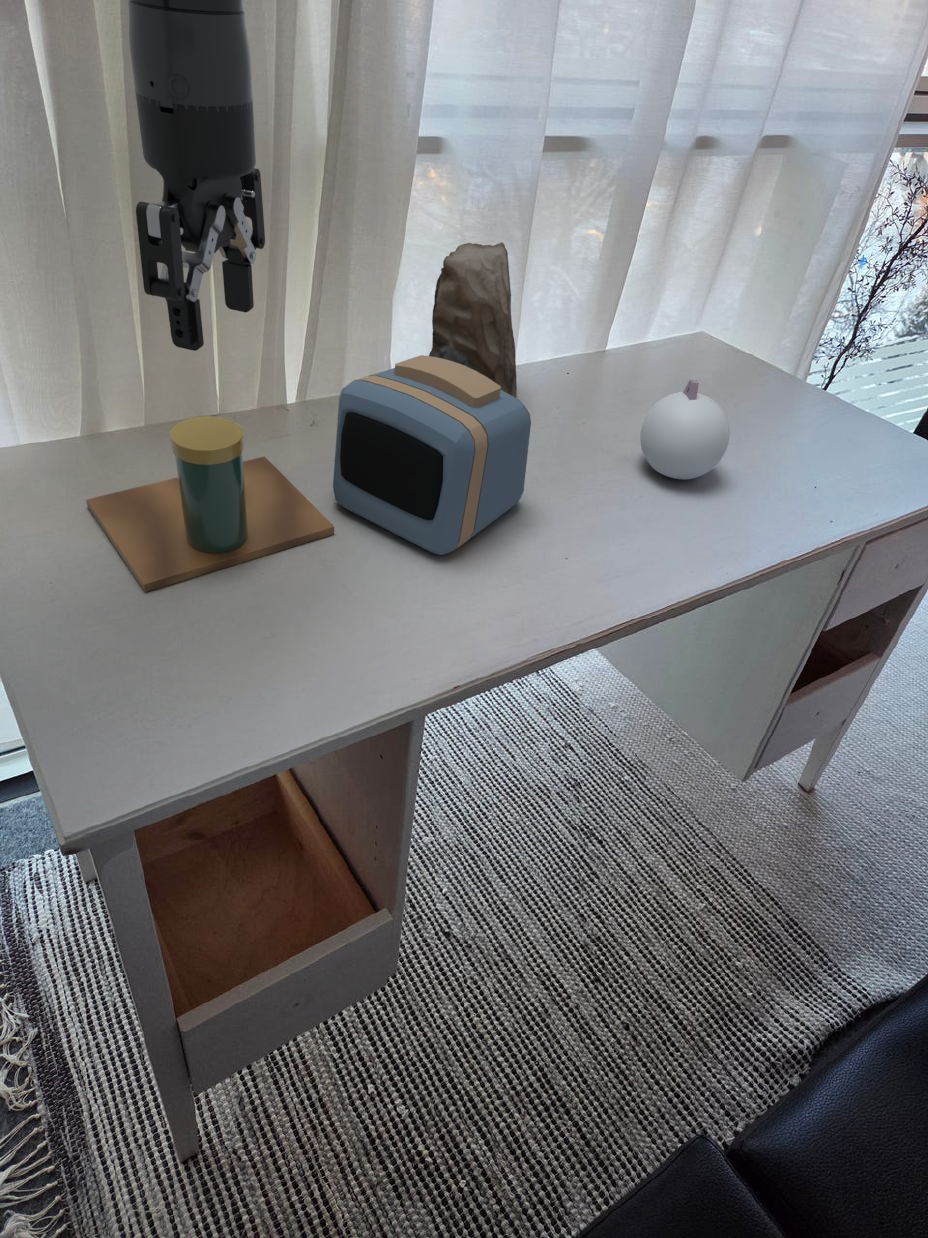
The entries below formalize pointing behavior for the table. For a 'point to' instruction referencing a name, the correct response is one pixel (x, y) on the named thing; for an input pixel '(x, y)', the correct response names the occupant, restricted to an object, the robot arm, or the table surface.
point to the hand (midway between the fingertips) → (215, 327)
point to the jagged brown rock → (476, 313)
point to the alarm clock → (430, 451)
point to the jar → (211, 482)
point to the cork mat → (156, 532)
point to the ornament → (685, 434)
